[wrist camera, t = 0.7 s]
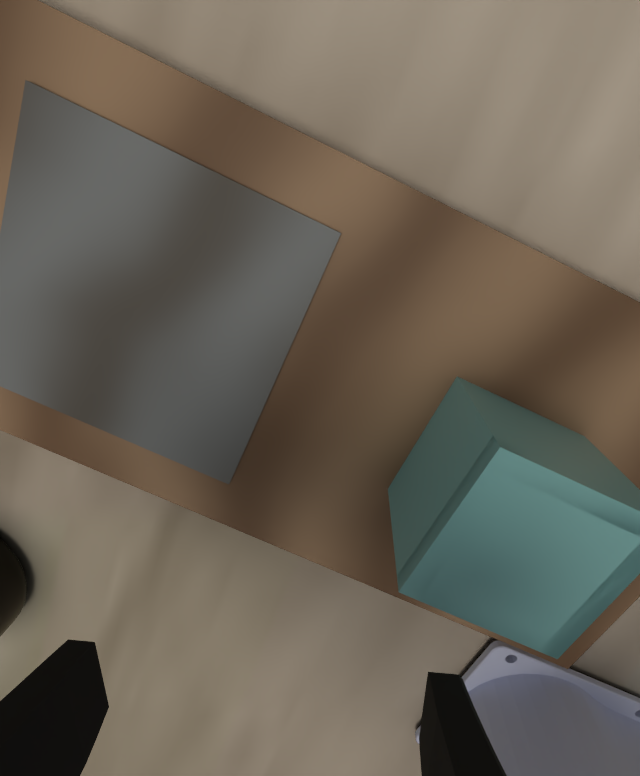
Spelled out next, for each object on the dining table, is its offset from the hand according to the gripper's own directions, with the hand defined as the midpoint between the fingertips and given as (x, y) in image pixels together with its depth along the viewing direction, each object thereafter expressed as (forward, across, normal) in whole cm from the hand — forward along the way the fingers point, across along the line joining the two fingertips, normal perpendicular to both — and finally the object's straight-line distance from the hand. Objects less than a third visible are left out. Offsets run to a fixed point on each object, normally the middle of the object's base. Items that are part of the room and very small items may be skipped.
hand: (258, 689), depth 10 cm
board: (+10, 0, -4) cm, 10 cm away
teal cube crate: (+8, -6, -1) cm, 10 cm away
